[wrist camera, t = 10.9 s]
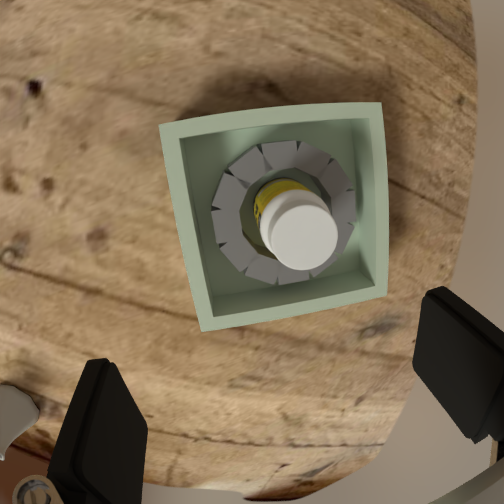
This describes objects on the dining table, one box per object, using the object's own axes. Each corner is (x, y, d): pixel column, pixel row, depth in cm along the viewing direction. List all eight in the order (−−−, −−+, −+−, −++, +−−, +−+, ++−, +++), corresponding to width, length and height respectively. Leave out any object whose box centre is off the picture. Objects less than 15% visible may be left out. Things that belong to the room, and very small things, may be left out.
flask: (35, 392, 31) (8, 447, 22) (44, 425, 34) (24, 476, 24) (-7, 376, 30) (-37, 424, 21) (5, 410, 32) (-19, 456, 23)
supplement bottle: (241, 195, 25) (247, 225, 18) (292, 165, 25) (322, 180, 17) (271, 243, 27) (289, 290, 19) (319, 215, 26) (357, 250, 19)
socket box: (168, 127, 24) (158, 124, 20) (356, 106, 25) (381, 102, 21) (202, 305, 29) (201, 332, 25) (365, 275, 30) (386, 295, 26)
